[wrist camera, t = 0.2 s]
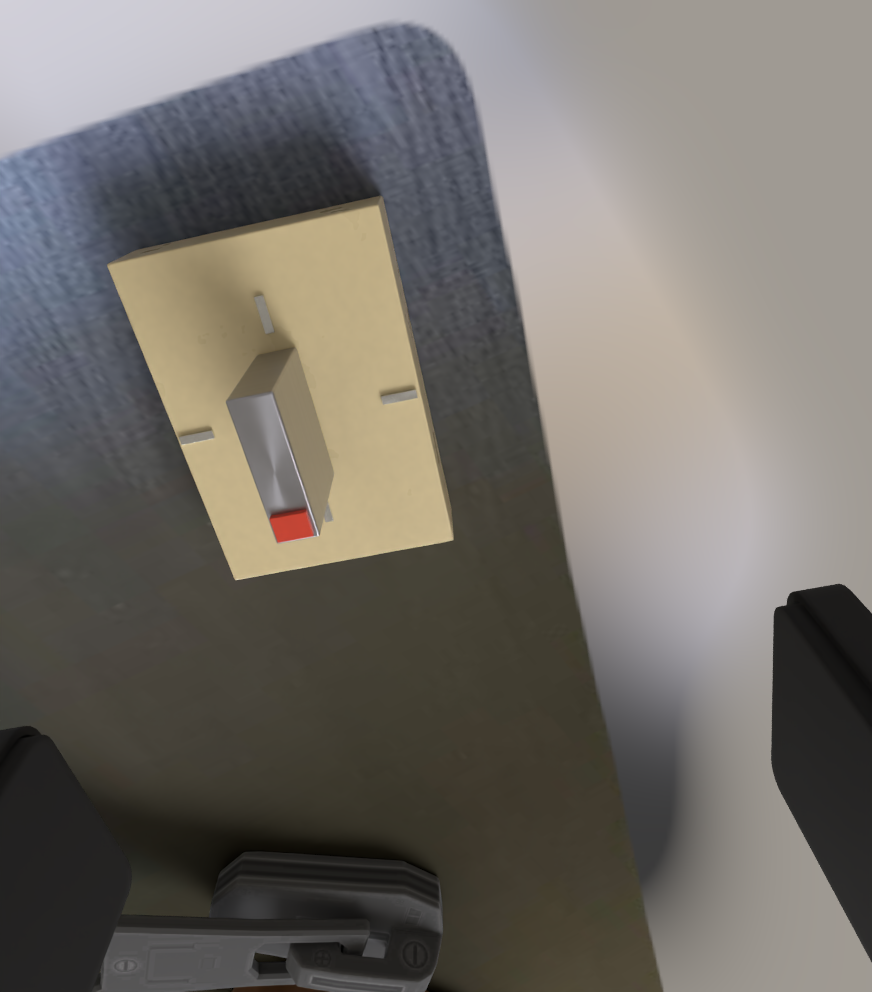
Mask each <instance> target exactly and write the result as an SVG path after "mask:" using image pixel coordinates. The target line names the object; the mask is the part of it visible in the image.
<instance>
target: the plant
mask: <svg viewBox="0 0 872 992" xmlns="http://www.w3.org/2000/svg"><path fill="white" fill-rule="evenodd" d="M232 992H329V991H323V990H317V989H311V988H305V987H299V986H297V985H296V984H294V985H271V986H248V987H235V988H234V989H233V990H232ZM425 992H429V991H425Z"/></svg>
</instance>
